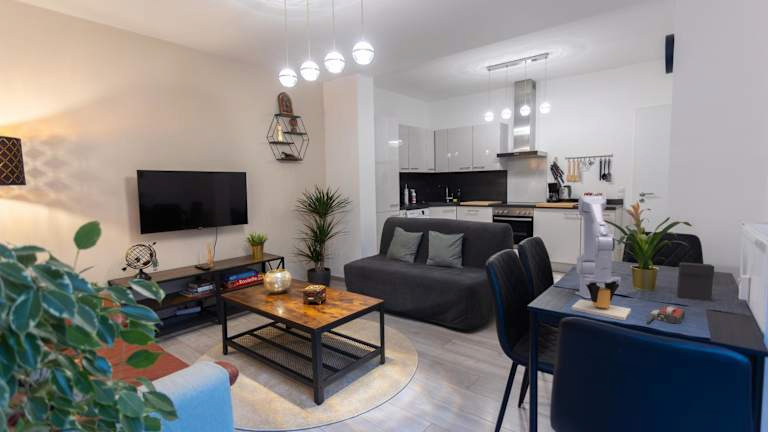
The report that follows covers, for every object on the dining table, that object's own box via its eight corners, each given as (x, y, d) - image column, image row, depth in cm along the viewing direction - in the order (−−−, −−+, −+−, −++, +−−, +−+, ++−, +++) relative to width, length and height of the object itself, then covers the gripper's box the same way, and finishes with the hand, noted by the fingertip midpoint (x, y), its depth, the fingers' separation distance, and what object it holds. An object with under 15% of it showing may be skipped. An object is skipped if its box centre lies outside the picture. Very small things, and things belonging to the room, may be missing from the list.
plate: (571, 309, 149) (571, 298, 149) (580, 302, 158) (580, 291, 158) (624, 320, 137) (625, 308, 137) (630, 311, 146) (631, 300, 146)
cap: (602, 302, 151) (603, 286, 150) (613, 307, 145) (613, 290, 144) (589, 303, 150) (590, 287, 149) (599, 308, 144) (600, 291, 144)
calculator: (708, 298, 161) (710, 264, 160) (711, 301, 157) (714, 266, 156) (676, 295, 166) (678, 261, 164) (679, 298, 162) (681, 263, 160)
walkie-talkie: (657, 310, 148) (643, 324, 135) (658, 299, 148) (644, 312, 134) (686, 316, 142) (674, 331, 128) (686, 305, 141) (675, 319, 128)
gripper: (592, 270, 141) (591, 305, 142) (627, 268, 143) (625, 303, 144) (580, 266, 148) (579, 299, 149) (614, 264, 150) (612, 297, 151)
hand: (601, 301), depth 147 cm, fingers closed on cap, 5 cm apart
